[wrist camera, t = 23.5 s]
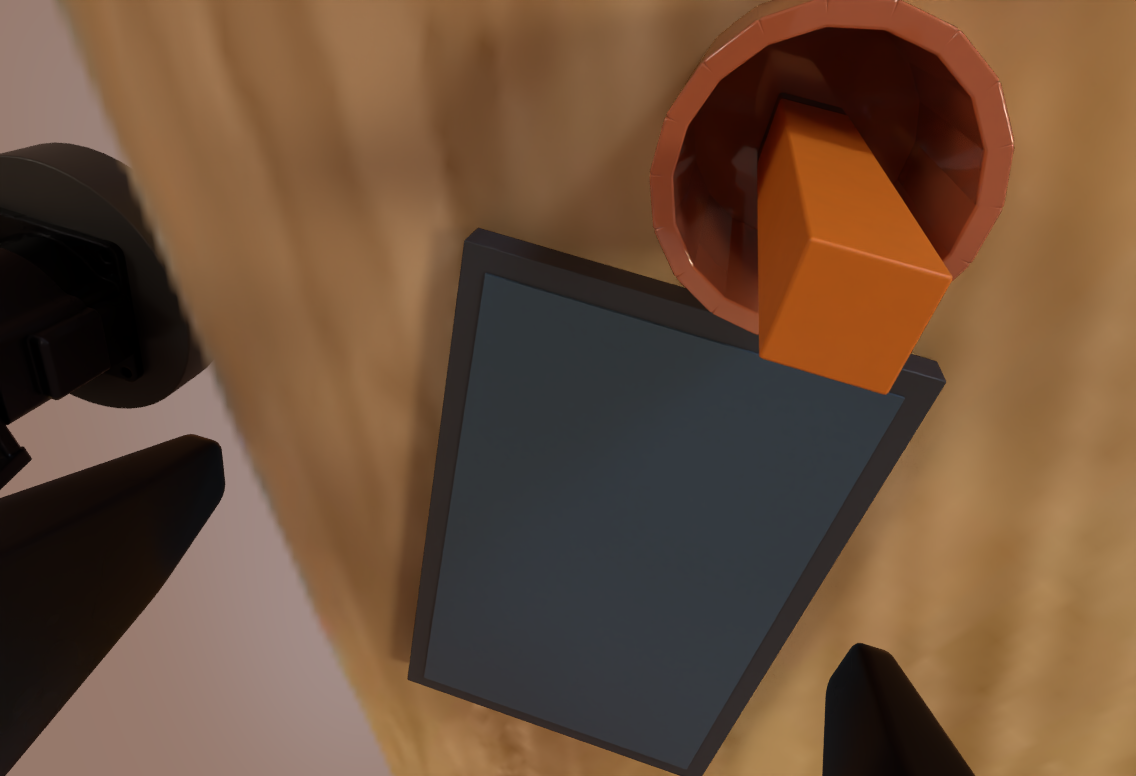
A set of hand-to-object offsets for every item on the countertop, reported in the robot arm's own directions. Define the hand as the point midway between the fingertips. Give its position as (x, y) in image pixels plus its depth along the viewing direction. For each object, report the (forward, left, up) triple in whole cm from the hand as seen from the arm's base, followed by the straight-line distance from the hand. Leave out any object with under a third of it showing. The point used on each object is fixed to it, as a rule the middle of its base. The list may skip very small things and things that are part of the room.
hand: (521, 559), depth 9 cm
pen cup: (+3, +4, -13) cm, 14 cm away
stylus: (+3, +4, -12) cm, 13 cm away
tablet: (+2, -12, -13) cm, 17 cm away
